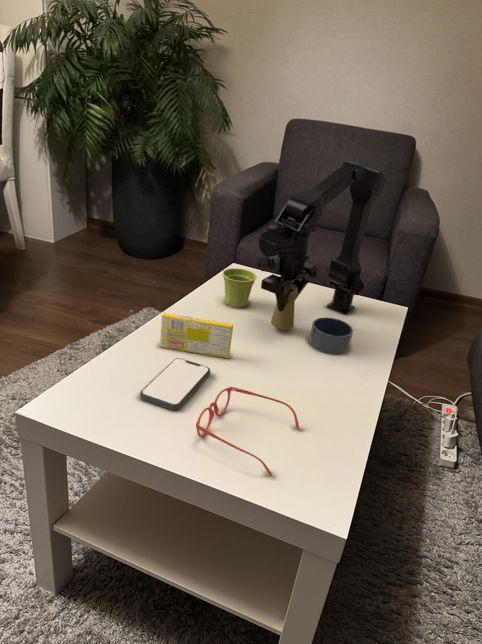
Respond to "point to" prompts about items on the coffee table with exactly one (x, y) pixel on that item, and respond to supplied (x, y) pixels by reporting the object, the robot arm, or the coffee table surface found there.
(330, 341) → the blue-grey round bowl
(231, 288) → the plant pot
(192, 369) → the smartphone
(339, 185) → the robot arm
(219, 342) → the candy box
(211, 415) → the red eyeglasses
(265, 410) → the coffee table surface
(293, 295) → the brown cylinder with knob
